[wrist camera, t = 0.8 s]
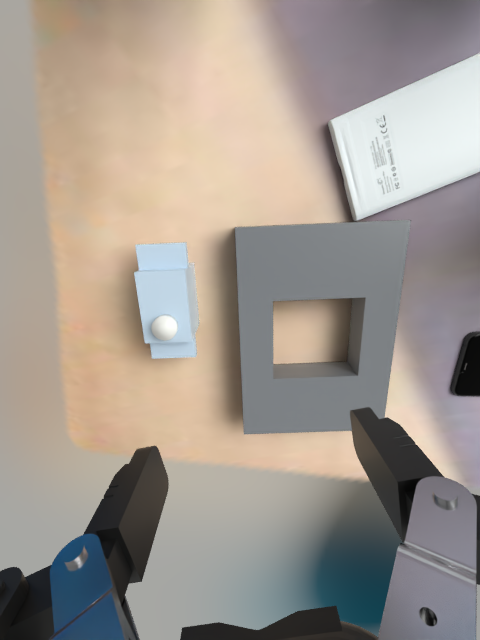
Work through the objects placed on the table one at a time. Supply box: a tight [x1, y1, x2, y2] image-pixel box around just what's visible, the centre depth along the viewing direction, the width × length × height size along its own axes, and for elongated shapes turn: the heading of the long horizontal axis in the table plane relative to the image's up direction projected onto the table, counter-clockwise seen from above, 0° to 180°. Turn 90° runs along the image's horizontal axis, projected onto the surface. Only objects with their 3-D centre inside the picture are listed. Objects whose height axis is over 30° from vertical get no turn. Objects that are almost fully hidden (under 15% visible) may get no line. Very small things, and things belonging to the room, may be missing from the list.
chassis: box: [235, 220, 411, 434], centre depth 28 cm, size 20×14×3 cm
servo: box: [134, 242, 199, 359], centre depth 26 cm, size 10×4×6 cm, turn 2°
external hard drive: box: [328, 53, 480, 221], centre depth 24 cm, size 2×8×12 cm
